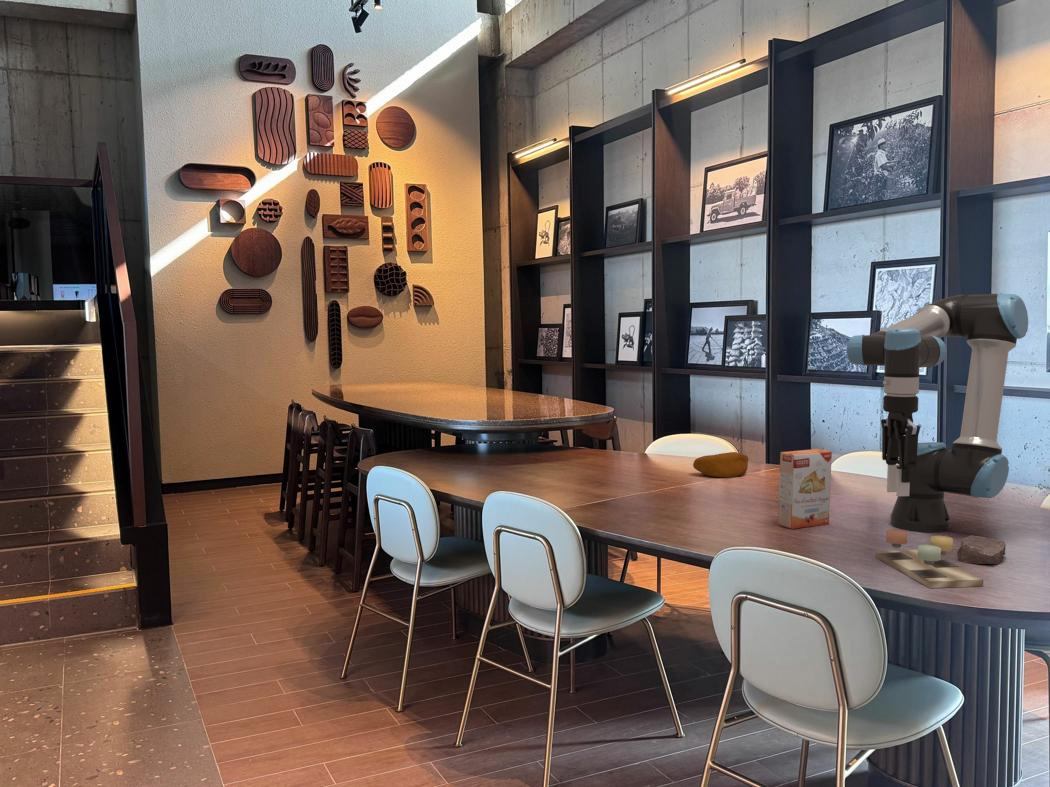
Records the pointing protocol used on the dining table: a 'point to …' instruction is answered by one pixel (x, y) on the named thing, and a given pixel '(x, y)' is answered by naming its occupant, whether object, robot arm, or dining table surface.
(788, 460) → the cracker box
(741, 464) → the bread
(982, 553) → the stone
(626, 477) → the dining table surface
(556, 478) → the dining table surface
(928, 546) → the sage button
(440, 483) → the dining table surface
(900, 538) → the terracotta button
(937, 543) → the ochre button
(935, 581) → the board
